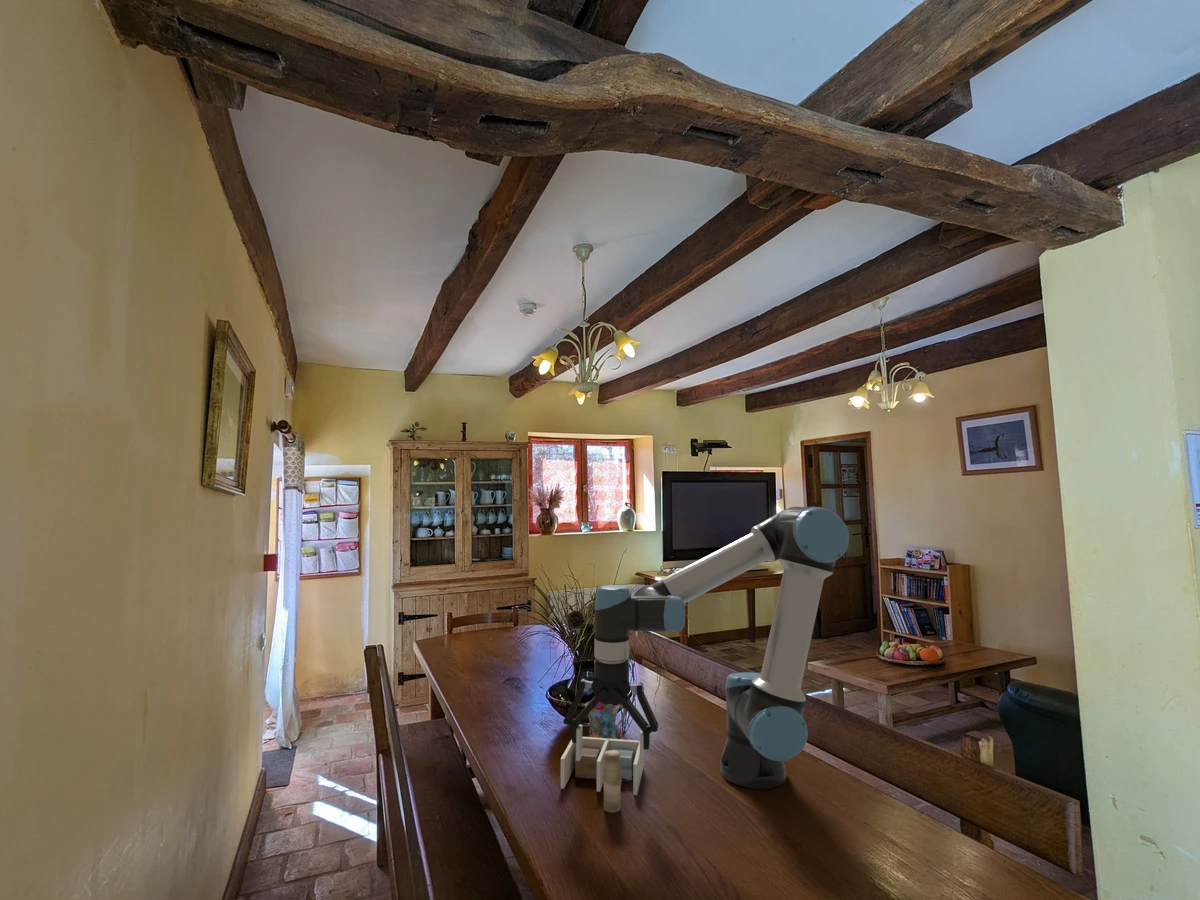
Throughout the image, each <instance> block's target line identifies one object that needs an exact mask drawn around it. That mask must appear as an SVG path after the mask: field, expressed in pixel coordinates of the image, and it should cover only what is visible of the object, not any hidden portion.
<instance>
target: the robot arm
mask: <svg viewBox="0 0 1200 900" xmlns="http://www.w3.org/2000/svg"><path fill="white" fill-rule="evenodd" d="M849 541H850V535H849V529H848V527H847V525H846V523H845V522H844V519H842V517H841V516H840V515H838V514H837V513H836V512H834V511H833V510H830V509H828V508H825V507H822V506H819V507H818V506H807V507H806V506H792V507H788V508H785V509H783V510H781V511H779V512H778V513H776V514H774V515H772V516H770V517H769V518H767V519H765V520H764V521H762V522H760V523H759V524H756V525H754V526H752V528H751V530H750V533H749V534H746V535H745V536H742V537H740V538H739V539H737V540H735V541H733V542H731V543H729V544H727V545H725V546H723V547H721V548H720V549H718V550H716V551H713V552H711V553H710V554H708V555H706V556H704V557H702V558H700V559H697V560H696V561H694V562H693V563H691V564H690V563H689V564H688V565H686V566H685V567H682V568H680V569H679V570H677V571H675V572H673V573H671V574H670V575H667V576H665V577H663V578H661V579H660V580H657V581H656V582H654V583H652V584H650V585H649V584H647V585H642V586H640V587H638V588H637V589H636V590H635V592H634V593H633V595H632V594H631V591H630V588H629V587H628V586H625V585H616V584H613V585H612V584H609V585H601V586H599V587H598V588H597V590H596V592H595V605H594V649H593V650H594V653H593V654H594V655H593V656H594V658H595V659H594V661H593V666H594V667H593V671H594V672H593V680H592V681H590V680H587V679H586V678H585V677H584V678H582V679H581V680H580V681H579V683H578V690H577V691H578V692H577V693H576V695H575V697H574V699H573V701H572V703H571V705H570V707H569V709H568V711H567V713H566V715H565V717H564V719H563V724H564V725H568V726H570V727H571V739H572V743H576V761H580V759H581V757H582V737H583V724H581V723H582V721H584V719H585V718H586V717H587V716H588V714H589V712H590V711H591V710H592V709H593V708H594V707H595V706H596V705H597V704H598V702H599V701H600V702H601V703H603V704H605V705H607V704H612V705H618V704H619V705H620V706H623V707H624V708H625V709H626V713H628V715H629V716H630V717H631V718H632V720H633V721H634V723H636V726H638V727H639V729H640V732H639V741H640V762H639V767H643V768H644V765H645V750H649V749H650V742H651V741H650V740H651V738H650V737H651V735H650V734H651V733H656V732H657V731H658V728H659V722H658V720H657V718H656V716H655V714H654V712H653V710H652V706H650V703H649V701H648V698H647V697H646V696H647V695H645V690H644V689H645V688H644V687H645V686H644V683H643V682H641V681H640V682H638V683H633V684H632V683H630V677H629V676H630V673H629V671H630V662H629V660H628V659H629V658H630V632H665V633H671V632H681V631H682V630H683V629H684V627H685V623H686V609H685V608H686V607H685V604H687V603H688V602H690V601H691V600H694V599H696V598H698V597H700V596H702V595H704V594H705V593H707V592H709V591H711V590H713V589H715V588H717V587H720V586H721V585H723V584H724V583H726V582H729V581H730V580H733V579H735V578H736V577H738V576H740V575H742V574H744V573H746V572H748V571H749V570H752V569H753V568H755V567H758V566H759V565H761V564H763V563H765V562H768V563H771V564H772V563H774V562H776V561H779V563H780V564H781V566H782V568H783V573H782V576H781V581H780V585H779V591H778V594H777V599H776V605H775V609H774V612H773V618H772V622H771V626H770V631H769V635H768V640H767V645H766V648H765V654H764V657H763V663H762V667H761V671H760V672H750V671H749V672H745V671H744V672H743V671H742V672H734V673H730V674H729V675H727V677H726V679H725V687H724V689H725V702H726V703H725V704H726V706H725V707H726V710H725V711H726V741H725V744H724V746H723V750H722V753H721V757H720V762H719V771H720V774H721V776H722V777H723V778H724V779H725V780H726V781H728V782H730V783H732V784H733V785H737V786H739V787H743V788H747V789H754V790H767V789H768V790H769V789H774V788H778V787H780V786H781V785H783V784H784V783H785V781H786V779H787V771H786V765H785V763H784V761H788V760H791V759H793V758H794V757H797V756H798V755H799V754H800V753H801V752H802V751H803V749H804V748H805V746H806V744H807V741H808V738H809V737H808V736H809V735H808V734H809V731H808V725H807V723H806V720H805V719H804V717H803V714H804V710H805V705H806V702H807V698H806V695H805V694H804V693H803V691H802V682H803V678H804V673H805V670H806V669H805V668H806V664H807V660H808V654H809V651H810V645H811V641H812V637H813V632H814V627H815V622H816V616H817V613H818V608H819V603H820V598H821V594H822V590H823V586H824V582H825V579H826V578H828V577H830V576H832V575H833V573H834V569H835V566H836V561H837V560H839V559H840V558H841V557H843V556H844V554H845V553H846V552H847V550H848V546H849V543H850V542H849ZM590 688H591V689H592V691H593V693H594V694H595V695H594V696H593V697H592V699H591V700H589V701H590V702H589V701H588V702H589V703H588V705H587V706H586V707H585V706H584V707H583V709H582V710H581V712H580V713H579V714H578V715H577V716H576V717H575V718H574V717H573V716H574V714H575V712H576V711H577V708H578V707H579V704H580V703H581V701H582V698H583V697H584V695H585V693H586V692H588V691H589V689H590ZM630 692H633V695H634V696H637V700H638V703H639V704H640V707H641V709H642V712H643V713H644V715H645V717H643V715H642V714H641V712H640V711H639V710H638V709H637V707H636V706H635V705H634V703H633V702H632V700H631V698H630V697H629V693H630ZM645 718H646V719H645Z"/></svg>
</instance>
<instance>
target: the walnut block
mask: <svg viewBox="0 0 1200 900" xmlns="http://www.w3.org/2000/svg"><path fill="white" fill-rule="evenodd" d="M599 754H600V748H591V747H582V757H581V759H580V761H576V755H575V768H574V770H575V771H574V773H575V775H574V777H575V778H582V779H591V778H592V779H593V778H594V779H593V780H597V759H598V757H599Z"/></svg>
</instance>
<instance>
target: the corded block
mask: <svg viewBox="0 0 1200 900" xmlns="http://www.w3.org/2000/svg"><path fill="white" fill-rule="evenodd" d="M633 763H634V749H622V748H613V750H610V751H606V752H604V783H603V810H604V811H605V812H606V813H611V814H612V813H618V812H620V810H622V809H621V808H622V807H621V806H622V801H621V799H622V798H621V797H622V794H621V791H622V790H621V789H622V788H621V787H622V783H621V782H623V780H622V779H627V780H626V781H629V780H631V781H632V780H633V777H632V776H633Z"/></svg>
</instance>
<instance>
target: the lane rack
mask: <svg viewBox="0 0 1200 900" xmlns="http://www.w3.org/2000/svg"><path fill="white" fill-rule="evenodd" d="M582 747H591V748H600V754H599V757H598V759H597V778H596V792H598V793H601V791H602V789H603V788H602V787H603V786H604V752H606V751H610V750H613V748H622V749H634V763H633V777H632V780H633V782H632V783H633V784H632V785H633V787H632V789H633V792H632V793H633V796H638V794H639V793H638V792H639V789H640V785H641V780H642V775H643V770H644V766H643V767H639V762H640V740H636V739H635V740H634V739H623V738H622V739H621V738H619V739H618V738H617V739H608V738H594V737H589V736H582ZM575 755H576V743H572V738H571V739H570V741H569V743H568V745H567V747H566V749H565V750H564V752H563V754H562V755H561V757H560V789H561V790H562V789H563V790H564V789H565V787H566V785H567V783H568V782H569V780H570V777H571V776H572V773H573V772H574V770H575Z"/></svg>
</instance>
